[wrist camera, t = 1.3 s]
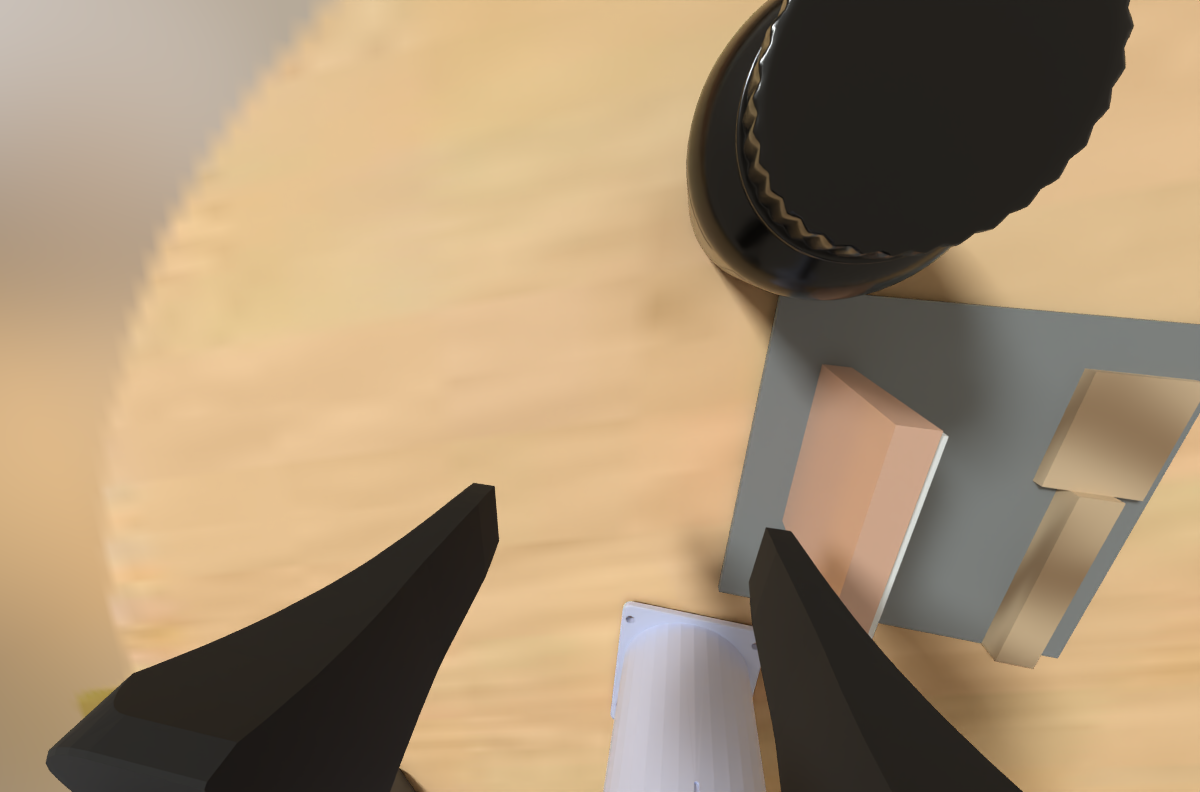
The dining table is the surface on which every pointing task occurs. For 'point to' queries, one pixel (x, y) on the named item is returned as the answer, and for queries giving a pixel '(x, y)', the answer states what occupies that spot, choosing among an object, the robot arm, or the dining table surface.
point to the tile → (860, 487)
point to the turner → (1087, 496)
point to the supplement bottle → (889, 131)
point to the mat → (951, 436)
